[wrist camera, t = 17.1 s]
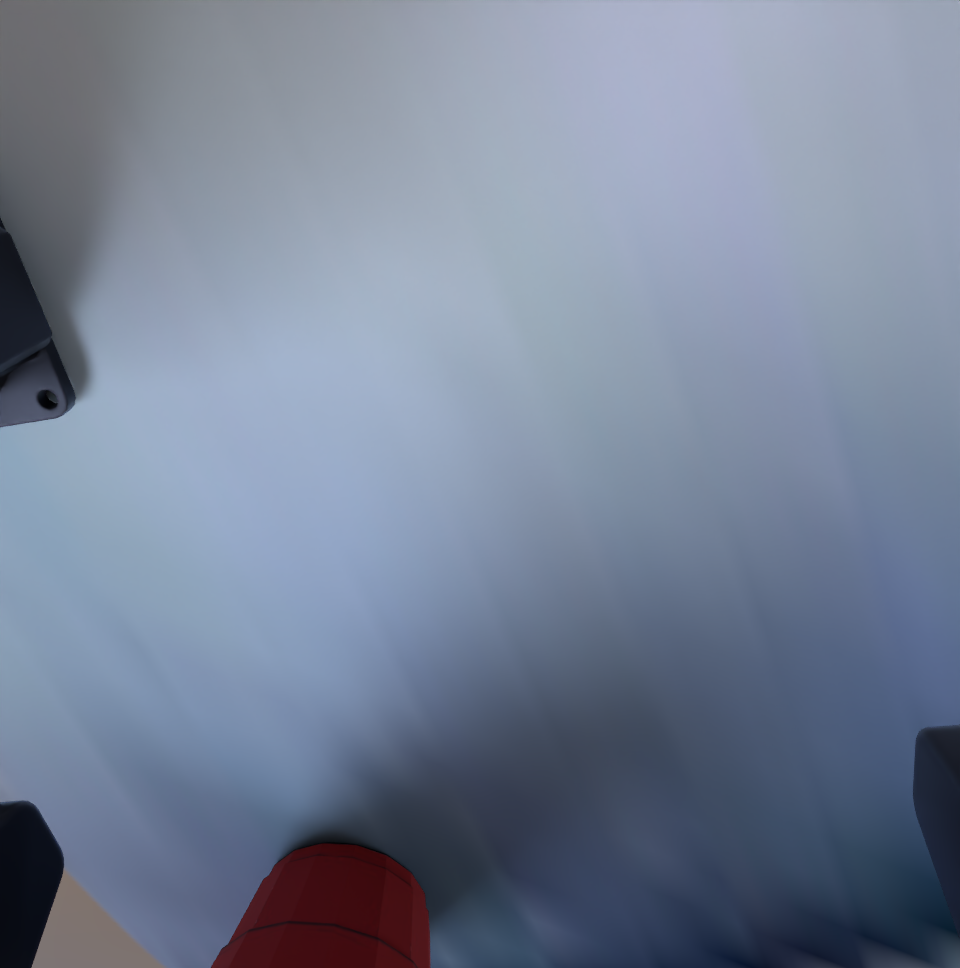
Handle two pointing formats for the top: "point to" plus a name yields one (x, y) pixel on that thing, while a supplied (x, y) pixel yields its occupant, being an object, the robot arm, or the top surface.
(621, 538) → the top surface
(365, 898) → the plastic cup
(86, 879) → the top surface
